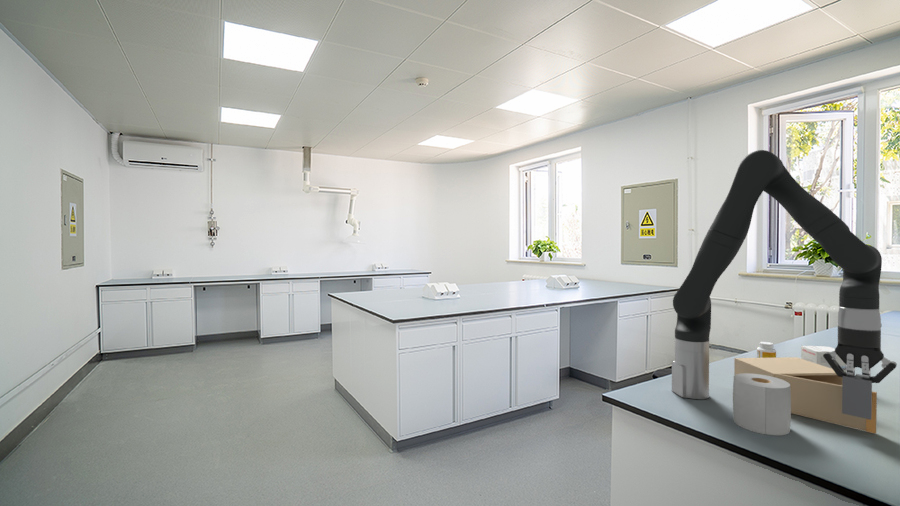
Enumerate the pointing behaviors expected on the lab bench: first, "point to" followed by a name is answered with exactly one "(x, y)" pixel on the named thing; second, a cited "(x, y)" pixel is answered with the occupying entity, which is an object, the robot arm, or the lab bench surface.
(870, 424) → the carton flap
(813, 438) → the lab bench surface
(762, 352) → the supplement bottle
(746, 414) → the toilet paper roll
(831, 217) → the robot arm
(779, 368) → the carton
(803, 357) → the ink box
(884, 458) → the lab bench surface
